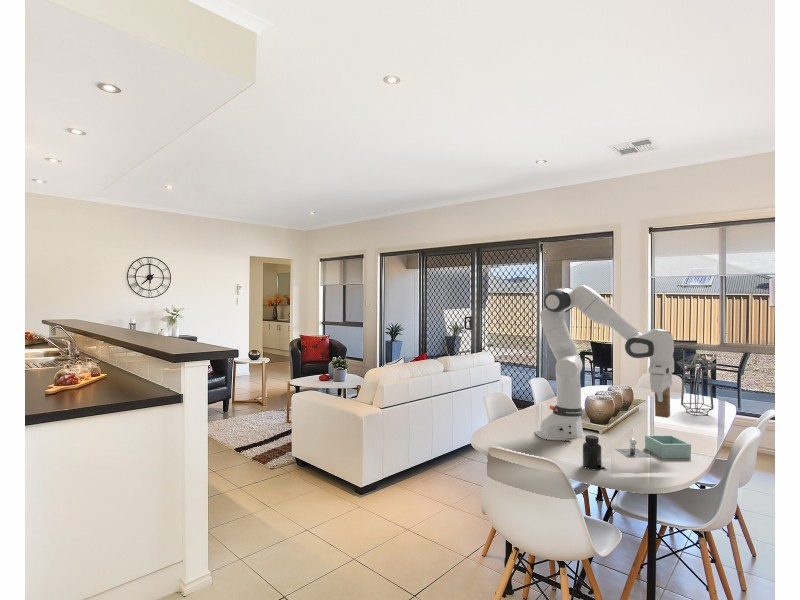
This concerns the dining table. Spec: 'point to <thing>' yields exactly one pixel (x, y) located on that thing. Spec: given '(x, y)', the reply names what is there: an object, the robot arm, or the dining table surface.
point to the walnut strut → (663, 404)
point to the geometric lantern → (698, 382)
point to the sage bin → (667, 446)
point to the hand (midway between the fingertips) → (662, 400)
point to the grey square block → (632, 451)
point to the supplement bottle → (592, 453)
